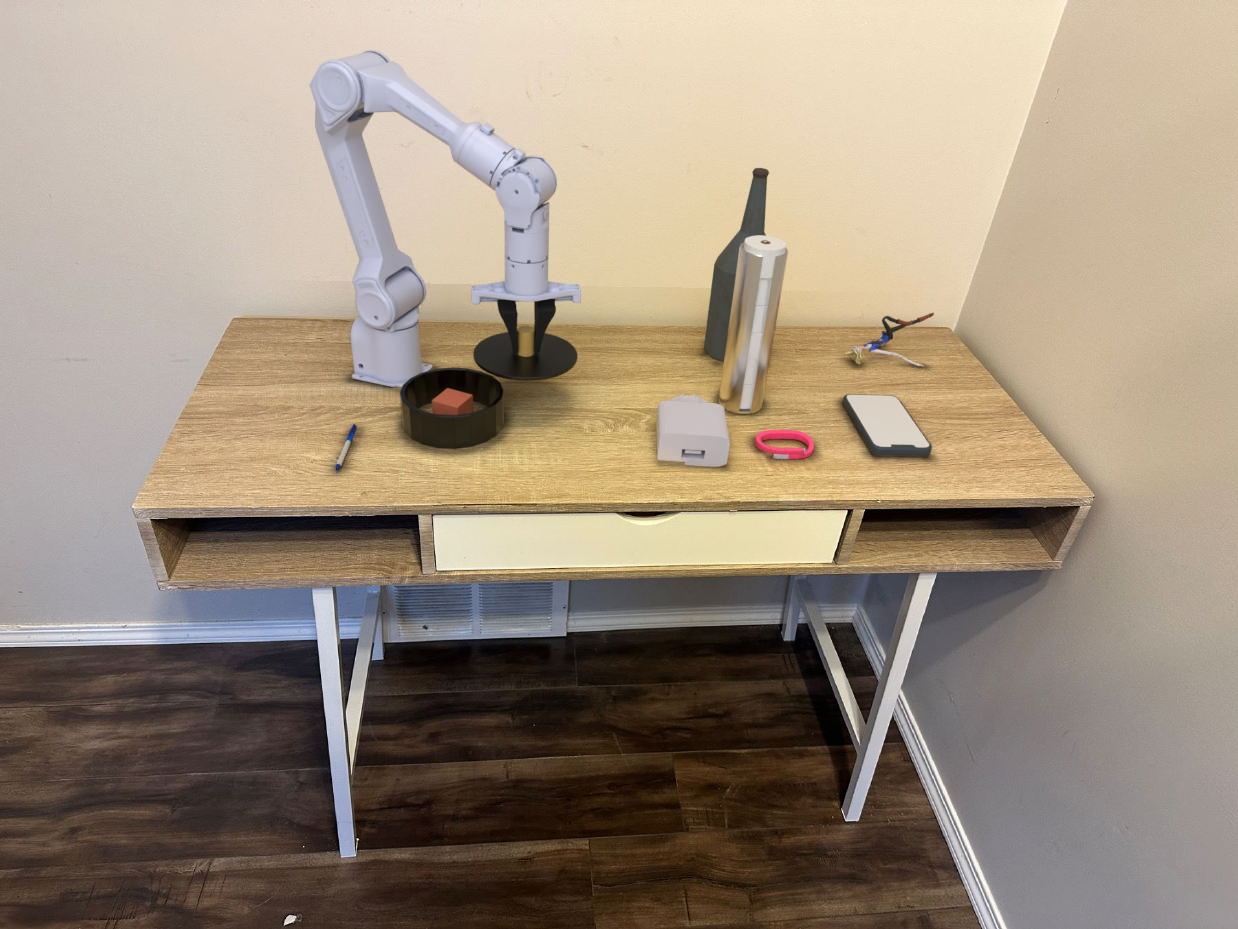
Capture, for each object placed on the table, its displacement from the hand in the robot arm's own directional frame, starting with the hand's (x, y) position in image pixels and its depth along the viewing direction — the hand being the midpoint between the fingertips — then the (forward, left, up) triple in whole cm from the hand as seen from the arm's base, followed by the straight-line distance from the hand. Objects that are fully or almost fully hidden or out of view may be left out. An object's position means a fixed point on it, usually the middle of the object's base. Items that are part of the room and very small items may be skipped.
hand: (525, 349), depth 125 cm
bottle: (+25, +29, -9) cm, 39 cm away
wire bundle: (+48, +38, -9) cm, 62 cm away
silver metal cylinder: (+29, +13, -9) cm, 33 cm away
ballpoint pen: (-17, -20, -9) cm, 28 cm away
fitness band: (+37, +3, -9) cm, 38 cm away
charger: (+24, +1, -9) cm, 26 cm away
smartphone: (+50, +14, -9) cm, 53 cm away
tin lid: (0, 0, -1) cm, 1 cm away
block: (-7, -9, -8) cm, 14 cm away
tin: (-7, -9, -9) cm, 14 cm away
